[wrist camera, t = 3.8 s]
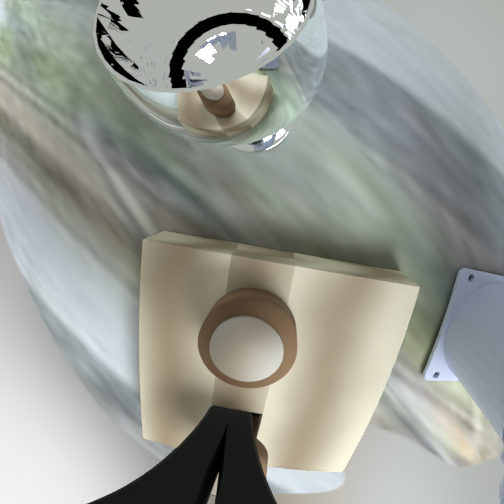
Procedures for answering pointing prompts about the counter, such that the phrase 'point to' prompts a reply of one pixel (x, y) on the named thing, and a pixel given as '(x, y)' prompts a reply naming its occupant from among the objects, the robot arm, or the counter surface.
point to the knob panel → (308, 345)
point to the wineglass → (216, 64)
